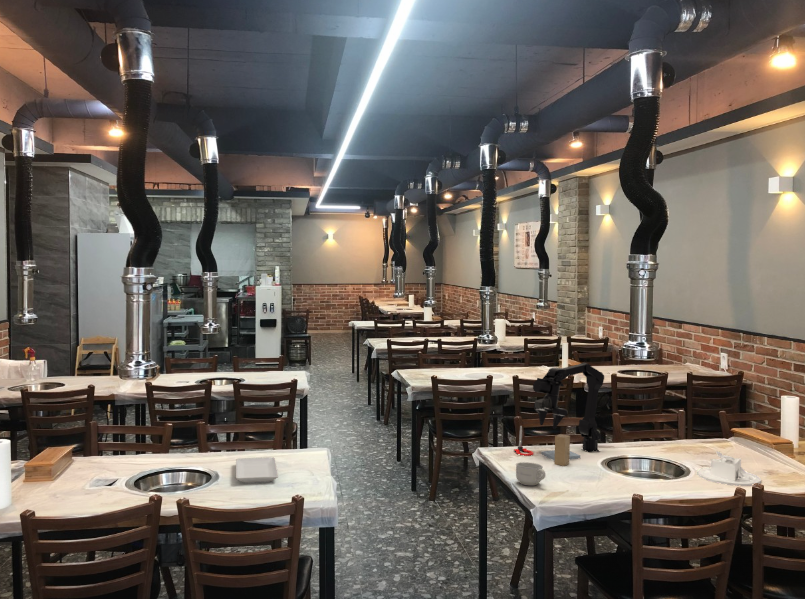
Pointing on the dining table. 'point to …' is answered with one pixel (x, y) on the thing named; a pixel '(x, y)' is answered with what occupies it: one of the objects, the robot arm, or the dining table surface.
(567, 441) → the gold metal block
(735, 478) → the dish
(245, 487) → the dining table surface
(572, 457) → the mat
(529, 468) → the teacup
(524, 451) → the tow hook
